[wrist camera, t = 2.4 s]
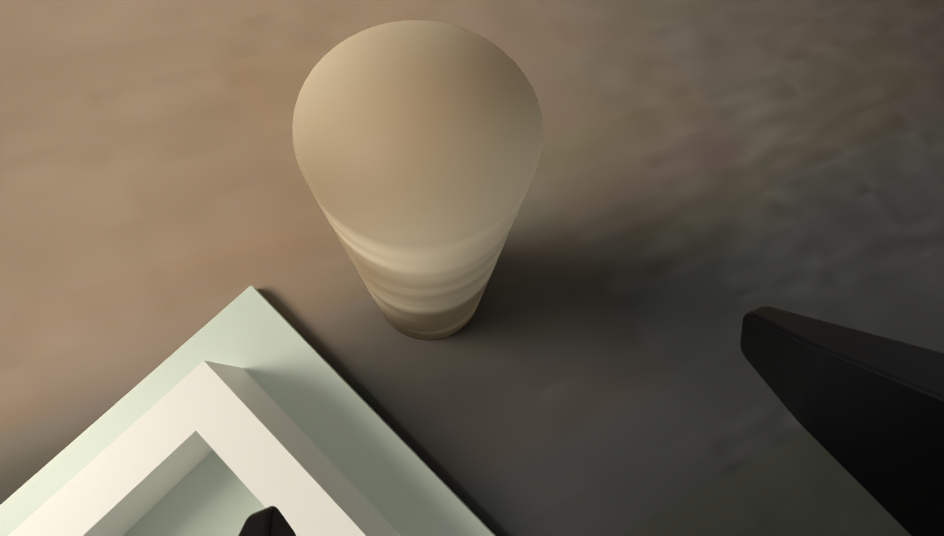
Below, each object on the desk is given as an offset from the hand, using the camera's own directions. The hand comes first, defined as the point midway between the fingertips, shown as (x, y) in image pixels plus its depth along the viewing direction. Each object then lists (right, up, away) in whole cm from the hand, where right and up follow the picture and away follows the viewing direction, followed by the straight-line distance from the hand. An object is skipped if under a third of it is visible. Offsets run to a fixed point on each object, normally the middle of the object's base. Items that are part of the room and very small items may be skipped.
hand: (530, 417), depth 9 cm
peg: (-3, +2, +12) cm, 13 cm away
